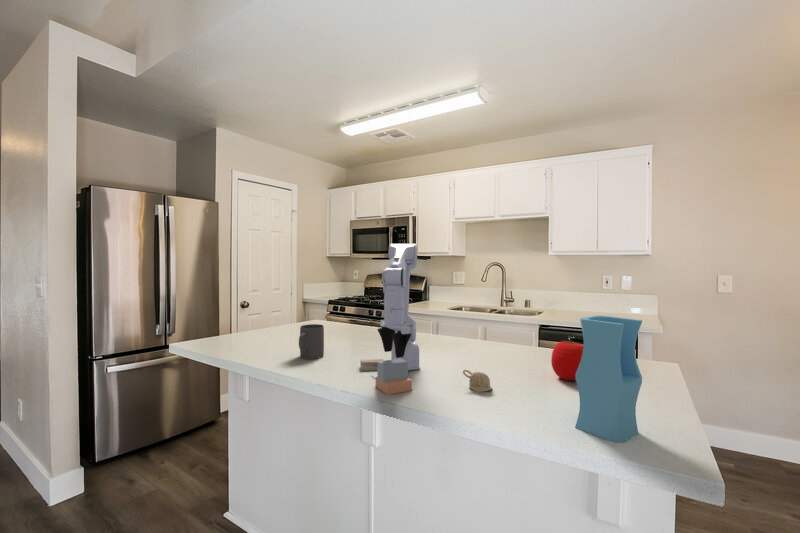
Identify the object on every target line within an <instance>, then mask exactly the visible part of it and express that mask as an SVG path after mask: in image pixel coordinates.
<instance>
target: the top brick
mask: <svg viewBox="0 0 800 533" xmlns="http://www.w3.org/2000/svg"><path fill="white" fill-rule="evenodd" d="M376 371H377V373H376V374H377V379H379V380H381V381H382V382H388V381H394V380H400V379H406V378H409V377H408V376H409V374H408V371H409V370H408V361H406V360H403V359H393V360H391V359H388V360H384V361H378V362H377V370H376Z"/></svg>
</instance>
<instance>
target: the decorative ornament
mask: <svg viewBox="0 0 800 533" xmlns="http://www.w3.org/2000/svg"><path fill="white" fill-rule="evenodd" d="M465 372H467V373H468V374H467V373H465ZM462 374H463V375H464V376H465V377H466V378H468V379H469V385H468V388H469V389H471V390H472V391H474V392H479V393H480V392H481V393H482V392H483V393H484V392H487V391H490V390H493V387H491V380H490V377H489V376H488V375H487V374H486V373H484V372H481V371H474V372H471V371H470V370H469V369H463V370H462Z"/></svg>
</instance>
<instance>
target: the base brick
mask: <svg viewBox="0 0 800 533" xmlns="http://www.w3.org/2000/svg"><path fill="white" fill-rule="evenodd" d="M375 387H376V388H377V389H379V390H380V391H382V392H383V393H385V394H386V395H392V394H398V393H403V392H409V391H412V390H413V379H411V378H410V377H408V378H406V379H400V380H394V381H388V382H382V381H381V380H379V379H377V376H376V379H375Z"/></svg>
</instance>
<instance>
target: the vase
mask: <svg viewBox="0 0 800 533" xmlns="http://www.w3.org/2000/svg"><path fill="white" fill-rule="evenodd" d="M579 323H580V326H581V332H582V336H583V337H582V338H583V346H584V349H583V355H582V358H581V361H580V364H579V367H578V369H577V372H576V380H575V382H576V386H577V391H578V397H579V411H578V416H577V420H576V423H575V426H574V428H575V429H577V430H580V431H582V432H586V433H589V434H590V435H594V436H596V437H599V438H602V439H605V440H607V441H610V442H613V443H619V444H622V443H626V442H627V441H629V440H631V439H632V438H634V437H636V436H637V435H639V429H638V424H637V416H636V413H637V412H636V411H637V410H636V408H637V407H636V406H637V401H638V396H639V393H640V391H641V388H642V384H643V377H642V374H641V371H640V368H639V365H638V362H637V357H636V342H637V339H638V335H639V332H640V329H641V326H642V323H643V320H642V319H634V318H625V317H619V316H618V317H617V316H610V315H591V316H585V317H580V318H579Z"/></svg>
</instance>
